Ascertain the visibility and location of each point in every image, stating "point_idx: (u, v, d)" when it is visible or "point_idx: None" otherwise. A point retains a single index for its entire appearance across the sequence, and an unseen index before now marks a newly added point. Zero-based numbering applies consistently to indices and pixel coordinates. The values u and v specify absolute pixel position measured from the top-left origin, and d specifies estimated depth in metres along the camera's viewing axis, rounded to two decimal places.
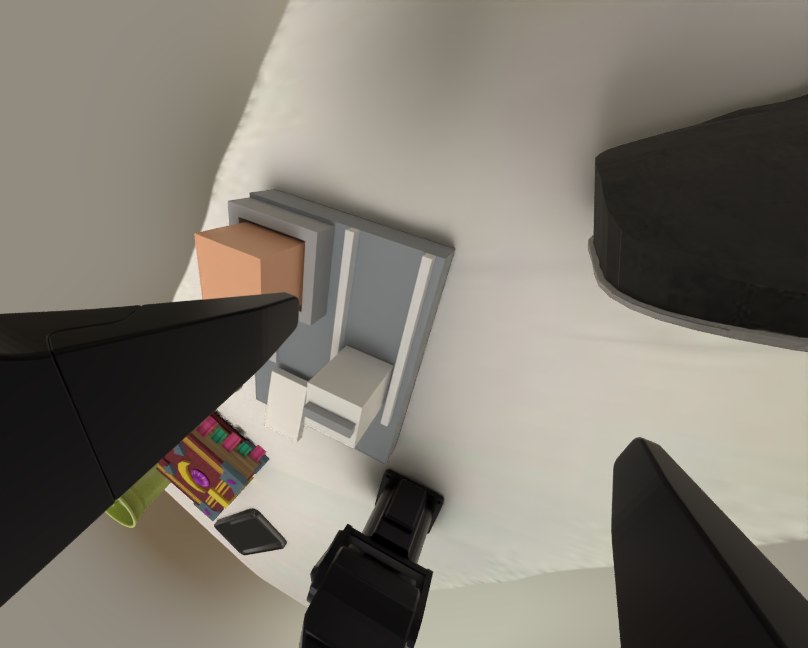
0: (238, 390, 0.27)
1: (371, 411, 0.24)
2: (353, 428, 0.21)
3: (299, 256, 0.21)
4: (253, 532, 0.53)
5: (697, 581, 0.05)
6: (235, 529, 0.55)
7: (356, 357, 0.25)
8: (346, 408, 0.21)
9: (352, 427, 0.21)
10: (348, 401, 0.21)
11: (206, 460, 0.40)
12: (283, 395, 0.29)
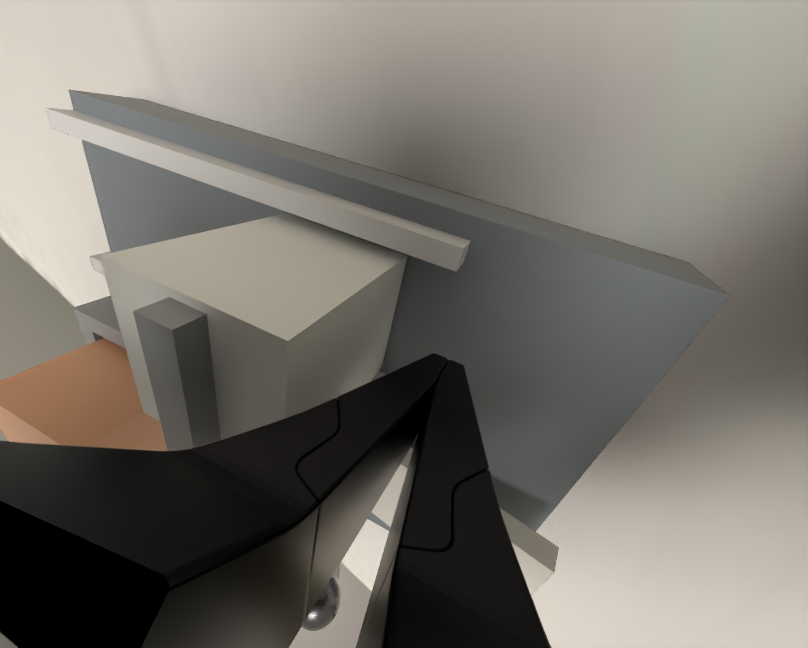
0: (329, 601, 0.11)
1: (283, 263, 0.07)
2: (164, 306, 0.05)
3: (110, 348, 0.14)
4: None
5: (418, 446, 0.06)
6: None
7: None
8: None
9: (152, 308, 0.05)
10: (114, 302, 0.06)
11: None
12: None
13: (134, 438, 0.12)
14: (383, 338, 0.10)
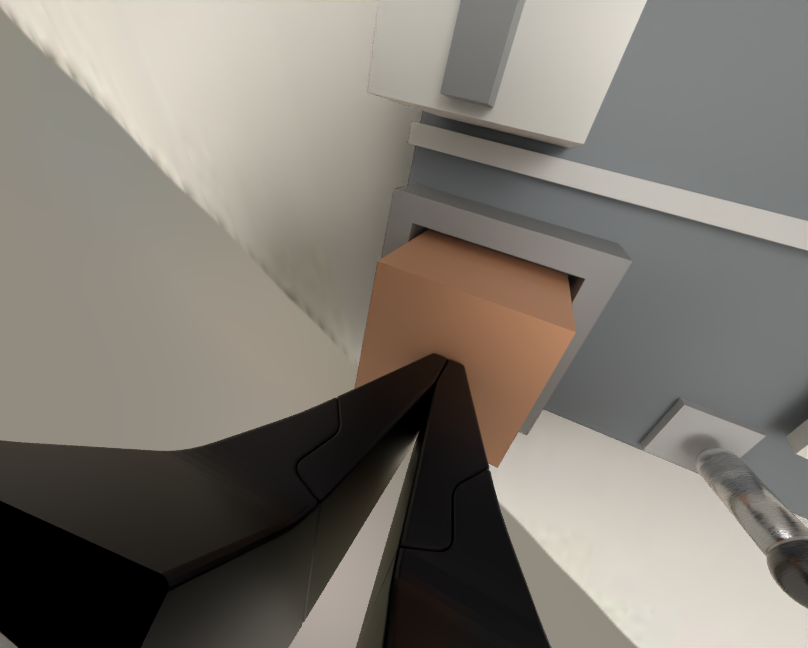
0: None
1: None
2: None
3: (446, 240, 0.11)
4: None
5: (418, 446, 0.06)
6: None
7: None
8: None
9: None
10: None
11: None
12: None
13: None
14: None
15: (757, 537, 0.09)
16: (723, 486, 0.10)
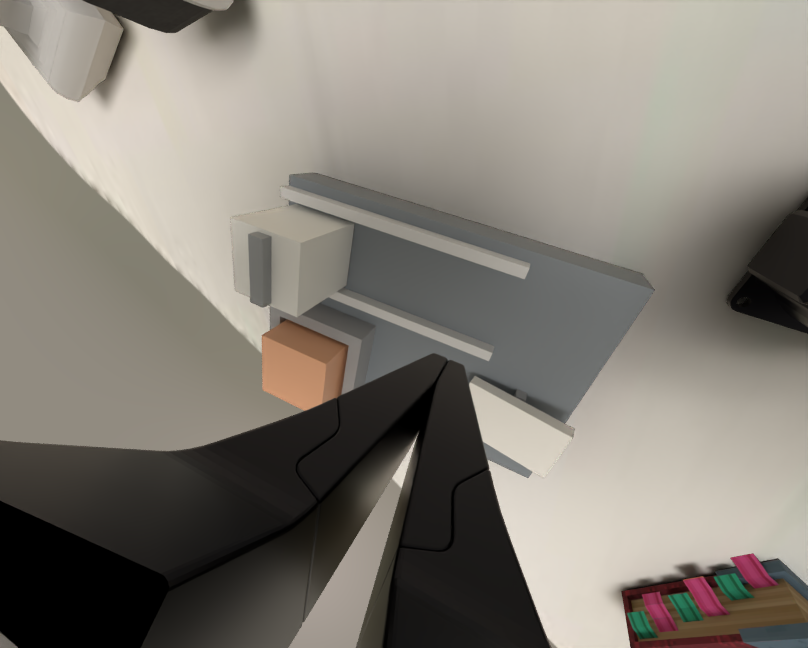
0: None
1: (297, 223, 0.17)
2: (256, 233, 0.15)
3: None
4: None
5: (418, 446, 0.06)
6: None
7: None
8: (242, 241, 0.16)
9: (252, 234, 0.15)
10: (232, 236, 0.16)
11: None
12: (486, 422, 0.20)
13: (338, 363, 0.21)
14: (345, 266, 0.20)
15: None
16: None
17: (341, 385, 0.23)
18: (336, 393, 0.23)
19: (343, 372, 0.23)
